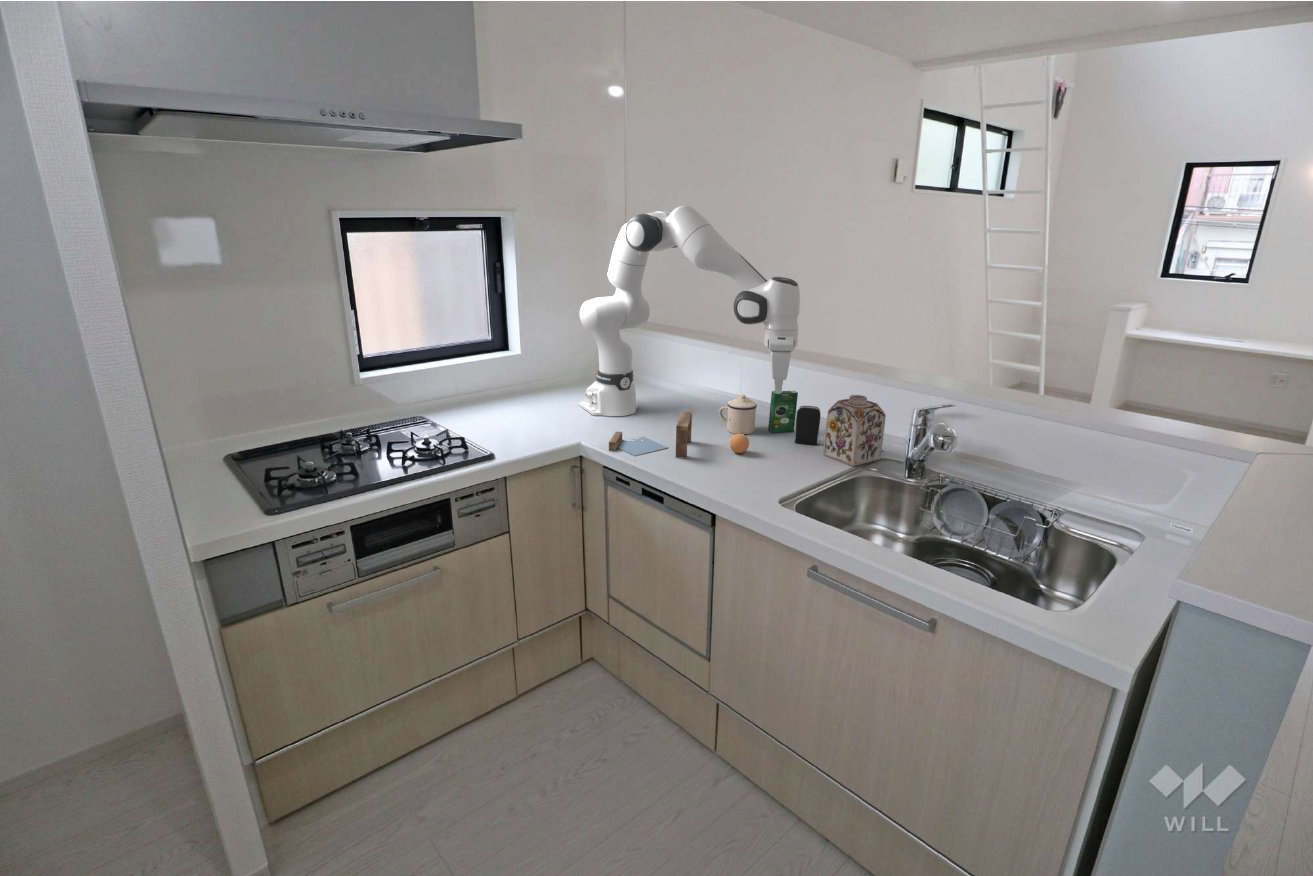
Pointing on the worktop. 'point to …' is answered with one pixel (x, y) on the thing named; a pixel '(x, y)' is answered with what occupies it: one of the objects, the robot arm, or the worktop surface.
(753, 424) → the teacup with lid
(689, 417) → the bridge
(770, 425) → the coffee box
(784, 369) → the robot arm
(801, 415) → the battery charger
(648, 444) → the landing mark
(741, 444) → the ball
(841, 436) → the decorative jar
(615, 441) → the stopper
